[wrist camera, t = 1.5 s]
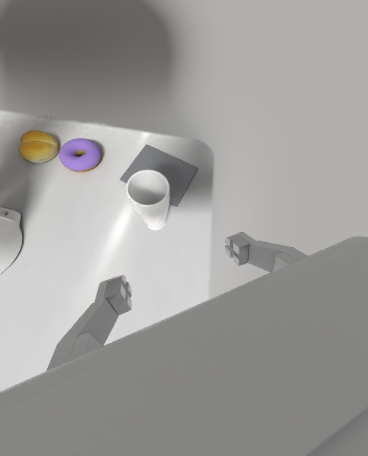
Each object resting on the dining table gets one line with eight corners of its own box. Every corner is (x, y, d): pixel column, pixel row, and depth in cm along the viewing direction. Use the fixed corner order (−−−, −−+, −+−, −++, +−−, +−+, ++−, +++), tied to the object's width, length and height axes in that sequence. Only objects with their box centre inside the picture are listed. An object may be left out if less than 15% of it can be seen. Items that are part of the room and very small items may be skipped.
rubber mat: (120, 180, 38) (120, 178, 38) (146, 146, 43) (146, 144, 42) (176, 206, 38) (176, 205, 37) (197, 169, 42) (197, 168, 42)
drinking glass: (139, 213, 36) (120, 174, 22) (164, 205, 37) (162, 164, 23) (146, 237, 34) (131, 212, 20) (173, 228, 36) (176, 199, 22)
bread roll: (23, 165, 37) (6, 153, 33) (29, 139, 39) (15, 125, 36) (58, 164, 38) (45, 152, 34) (62, 139, 41) (51, 125, 37)
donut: (86, 180, 37) (71, 165, 33) (63, 169, 39) (46, 154, 35) (111, 155, 40) (100, 139, 36) (88, 146, 43) (75, 130, 38)
